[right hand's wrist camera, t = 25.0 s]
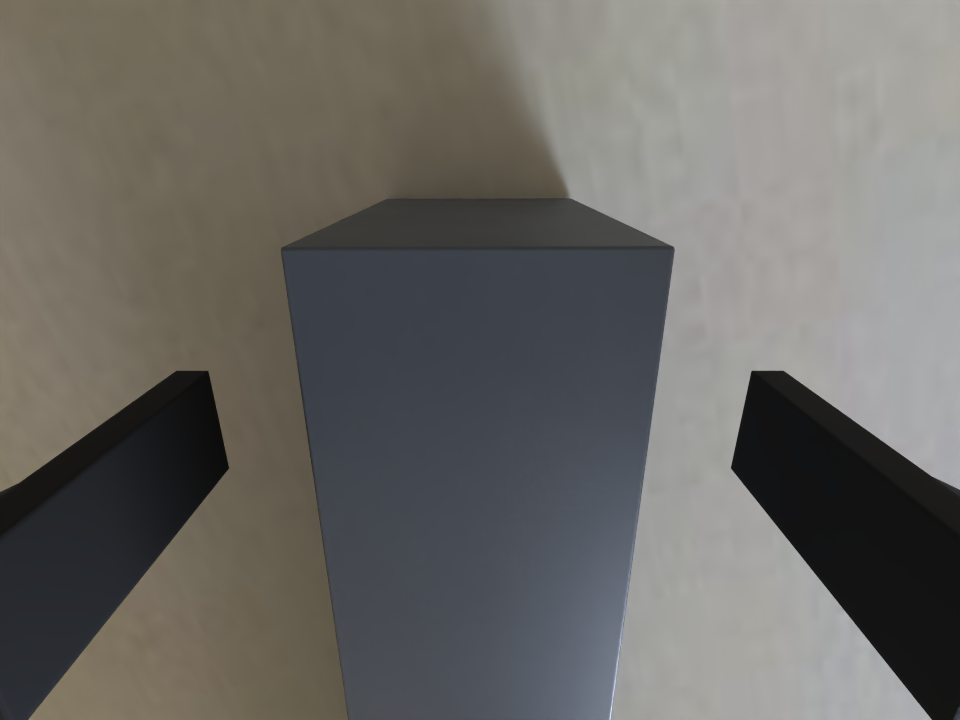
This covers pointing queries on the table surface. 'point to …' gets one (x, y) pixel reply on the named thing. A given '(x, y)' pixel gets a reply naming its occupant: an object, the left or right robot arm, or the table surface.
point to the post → (478, 447)
